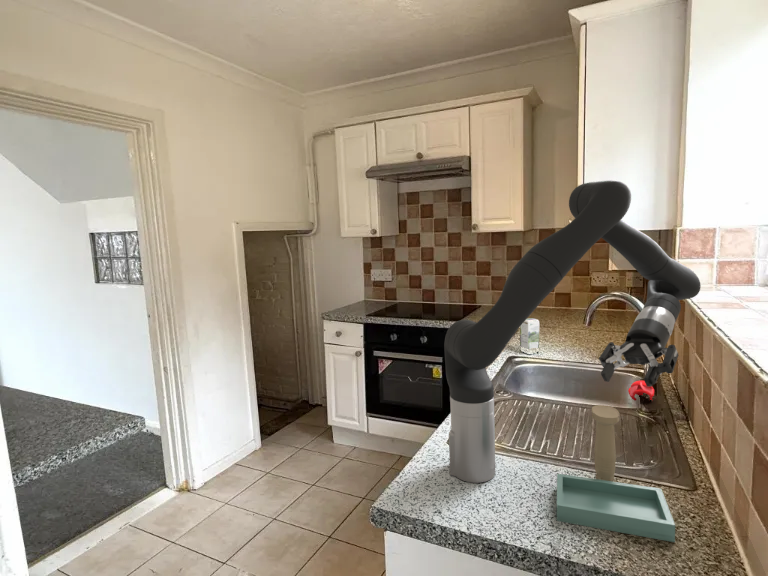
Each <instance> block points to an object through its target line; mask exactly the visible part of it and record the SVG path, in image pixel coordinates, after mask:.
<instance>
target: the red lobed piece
mask: <svg viewBox="0 0 768 576" xmlns="http://www.w3.org/2000/svg"><path fill="white" fill-rule="evenodd" d="M643 393H645V395H648V397H649V401H650V400H652V401H653V397H654V396H655V389H654V387H653V386H652V387H648V386H646V383H645V381H644V380H636V381H634V382H633V383H631V385H630V387H629V388H628V395H629V398H631V400H633V401H634V402H635V401H637V398H636V397H635V396H636V395H637V396H644V395H643Z"/></svg>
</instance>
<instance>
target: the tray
mask: <svg viewBox="0 0 768 576" xmlns="http://www.w3.org/2000/svg"><path fill="white" fill-rule="evenodd" d="M674 520H675V519H674V518H673V516H672V512H671V510H670V508H669V505H668V503H667V500H666V498H665V495H664V492H663V490H662V488H659V487H654V486H653V487H652V486H645V485H640V484H633V483H626V482H625V483H624V482H618V481H606V480H599V479H596V478H590V477H583V476H579V475H577V476H576V475H571V474H562V473H557V474H556V521H557V522H562V523H568V524H572V525H578V526H584V527H588V528H589V527H590V528H595V529H600V530H606V531H611V532H616V533H622V534H628V535H633V536H638V537H645V538H650V539H655V540H660V541H665V542H670V543H675V542H676V522H675V521H674Z"/></svg>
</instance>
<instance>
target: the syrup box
mask: <svg viewBox="0 0 768 576" xmlns="http://www.w3.org/2000/svg"><path fill="white" fill-rule="evenodd" d="M520 346H521V347H524V348H527V349H531V348H539V349H540V320H539V319H537V318H532V317H531V318H527V319H526V320H525V321H524V322H523V323H522V325H521V326H520V327H519V347H520Z"/></svg>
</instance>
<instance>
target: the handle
mask: <svg viewBox="0 0 768 576" xmlns="http://www.w3.org/2000/svg"><path fill="white" fill-rule="evenodd" d="M591 418H592V419H593V420H594V421H595V422H596V424H595V425H596V426H595V438H594V439H595V440H594V441H595V442H594V453H593V454H594V457H593V458H594V470H595V479H599V480H606V481H613V482H615V481H614V480H615V471H616V457H617V456H616V454H617V453H616V436H615V435H616V434H615V433H616V432H615V425H616V424H617V423H619V421H620V412H619V410H618V409H616V408H614V407H612V406H611V405H601V404H598V405H593V406H592V408H591Z"/></svg>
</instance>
